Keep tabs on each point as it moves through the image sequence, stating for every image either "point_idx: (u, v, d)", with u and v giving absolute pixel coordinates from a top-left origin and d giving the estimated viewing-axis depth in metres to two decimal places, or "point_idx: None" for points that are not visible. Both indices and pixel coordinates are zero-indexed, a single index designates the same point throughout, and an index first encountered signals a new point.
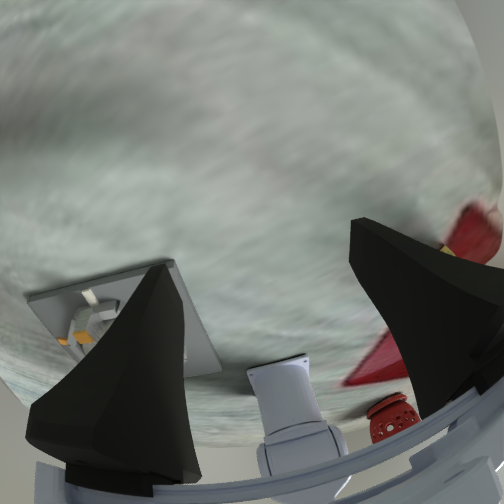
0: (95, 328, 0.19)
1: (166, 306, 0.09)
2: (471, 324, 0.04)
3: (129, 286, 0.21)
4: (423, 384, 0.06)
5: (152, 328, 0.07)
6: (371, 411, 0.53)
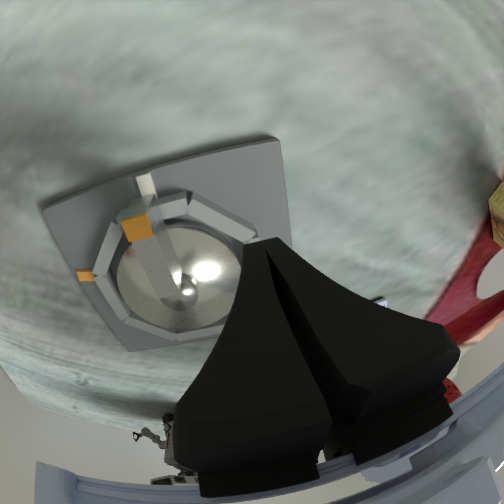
0: (156, 220, 0.14)
1: None
2: (333, 389, 0.04)
3: (212, 167, 0.16)
4: None
5: None
6: None
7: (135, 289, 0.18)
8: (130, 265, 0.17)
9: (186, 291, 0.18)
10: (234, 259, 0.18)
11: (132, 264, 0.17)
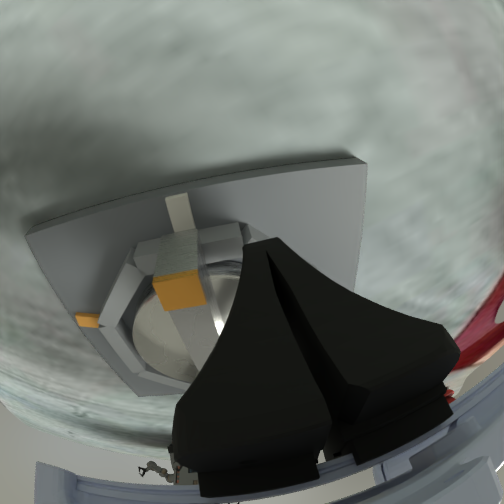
0: (204, 273, 0.10)
1: None
2: (333, 388, 0.04)
3: (279, 192, 0.11)
4: None
5: None
6: None
7: (157, 345, 0.13)
8: (152, 319, 0.12)
9: None
10: None
11: (155, 318, 0.12)
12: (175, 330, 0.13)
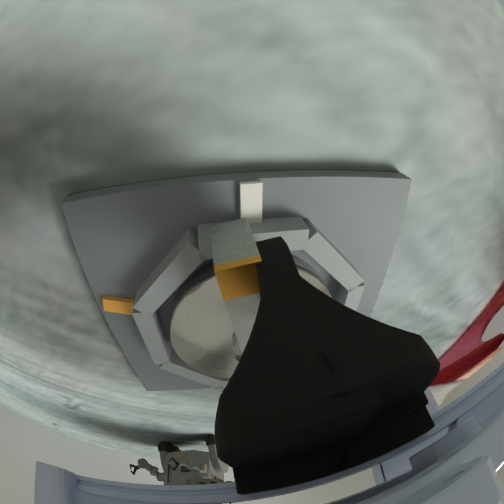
0: None
1: None
2: None
3: (340, 193, 0.12)
4: None
5: None
6: None
7: (195, 341, 0.14)
8: (193, 314, 0.13)
9: None
10: None
11: (196, 312, 0.13)
12: (216, 324, 0.13)
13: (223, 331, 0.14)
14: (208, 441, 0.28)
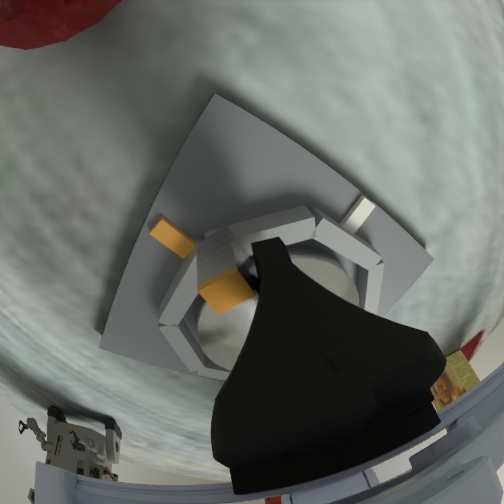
0: (247, 266, 0.10)
1: None
2: None
3: (399, 244, 0.14)
4: None
5: None
6: None
7: (226, 347, 0.14)
8: (214, 324, 0.13)
9: None
10: (348, 278, 0.13)
11: (216, 322, 0.13)
12: None
13: None
14: (108, 424, 0.22)
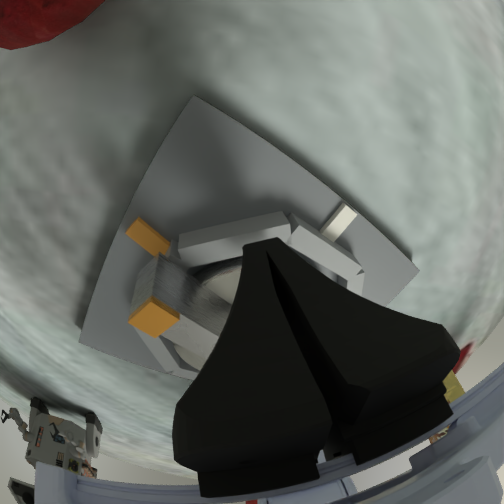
0: (177, 290, 0.10)
1: None
2: (333, 388, 0.04)
3: (383, 254, 0.14)
4: None
5: None
6: None
7: None
8: None
9: None
10: None
11: None
12: None
13: None
14: (88, 418, 0.22)
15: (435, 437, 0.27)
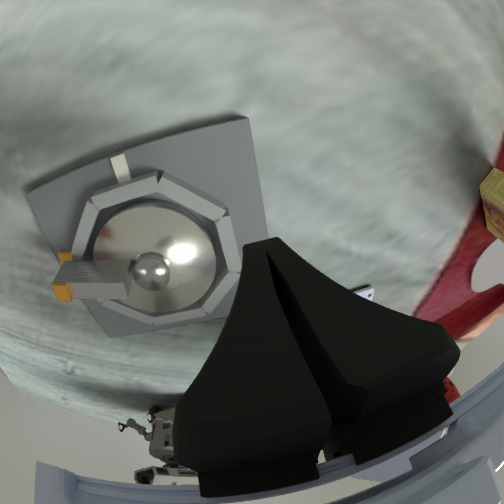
0: (69, 272, 0.16)
1: None
2: (333, 389, 0.04)
3: (182, 146, 0.16)
4: None
5: None
6: None
7: (149, 300, 0.20)
8: None
9: (144, 268, 0.17)
10: (126, 213, 0.16)
11: None
12: (134, 286, 0.19)
13: None
14: None
15: None
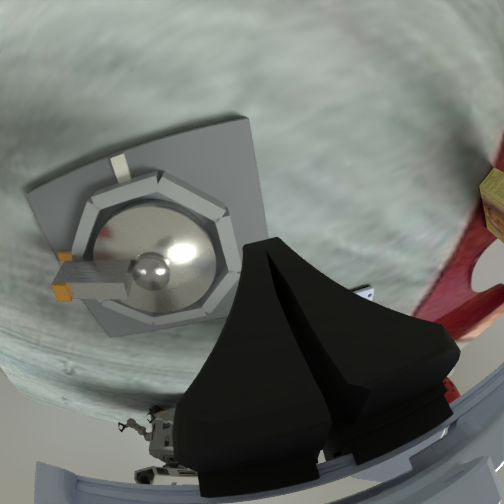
0: (69, 272, 0.16)
1: None
2: (333, 389, 0.04)
3: (182, 146, 0.16)
4: None
5: None
6: None
7: (149, 300, 0.20)
8: None
9: (144, 268, 0.17)
10: (126, 213, 0.16)
11: None
12: (134, 286, 0.19)
13: None
14: None
15: None
